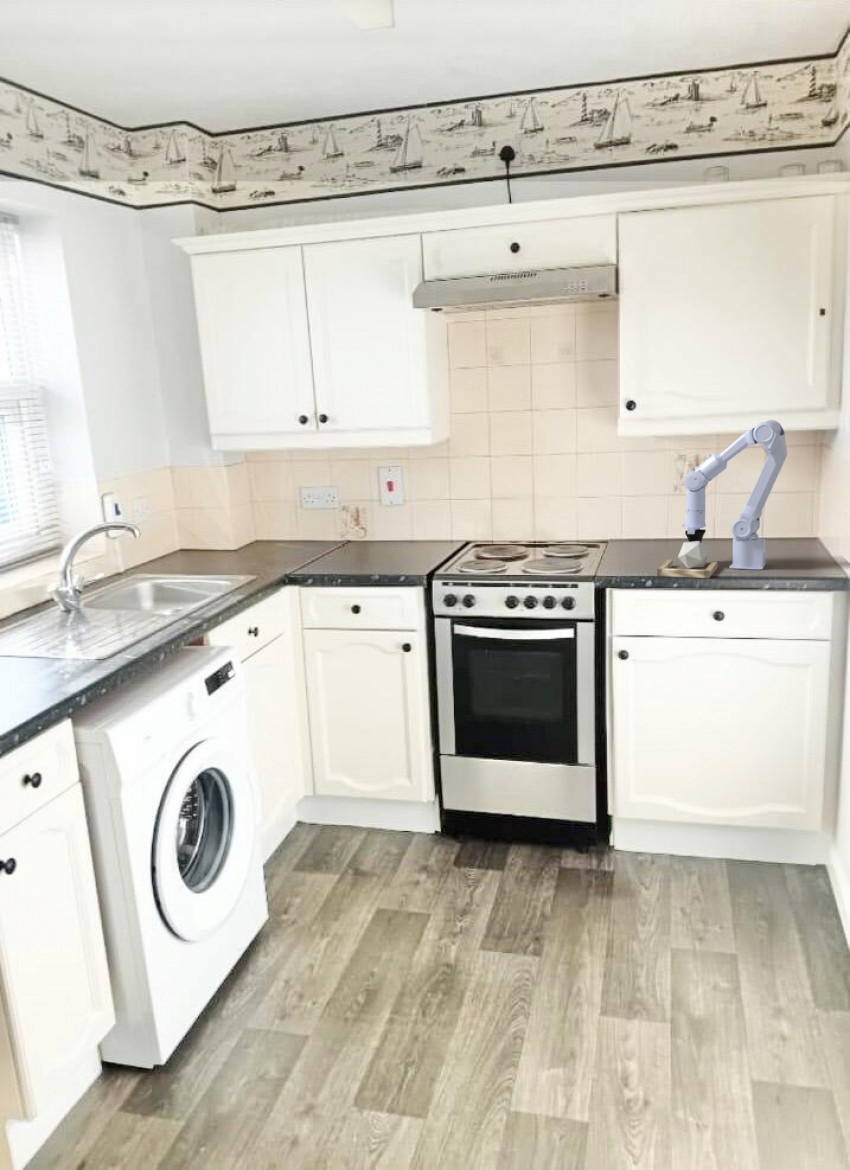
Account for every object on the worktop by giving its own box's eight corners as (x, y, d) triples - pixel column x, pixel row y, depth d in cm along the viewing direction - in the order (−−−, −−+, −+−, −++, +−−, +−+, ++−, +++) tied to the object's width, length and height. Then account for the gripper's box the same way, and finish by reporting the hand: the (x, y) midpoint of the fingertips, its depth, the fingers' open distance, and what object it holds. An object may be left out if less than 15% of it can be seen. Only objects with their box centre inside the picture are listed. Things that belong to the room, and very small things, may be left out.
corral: (717, 567, 275) (717, 561, 275) (709, 578, 263) (709, 571, 262) (667, 565, 282) (667, 559, 281) (657, 575, 269) (657, 569, 269)
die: (706, 572, 273) (717, 544, 275) (681, 560, 272) (692, 532, 274) (694, 576, 281) (705, 549, 283) (670, 564, 280) (681, 537, 282)
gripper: (687, 506, 287) (686, 548, 290) (677, 513, 274) (677, 557, 277) (710, 506, 283) (709, 549, 286) (701, 513, 271) (700, 558, 274)
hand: (695, 553), depth 282 cm, fingers closed
